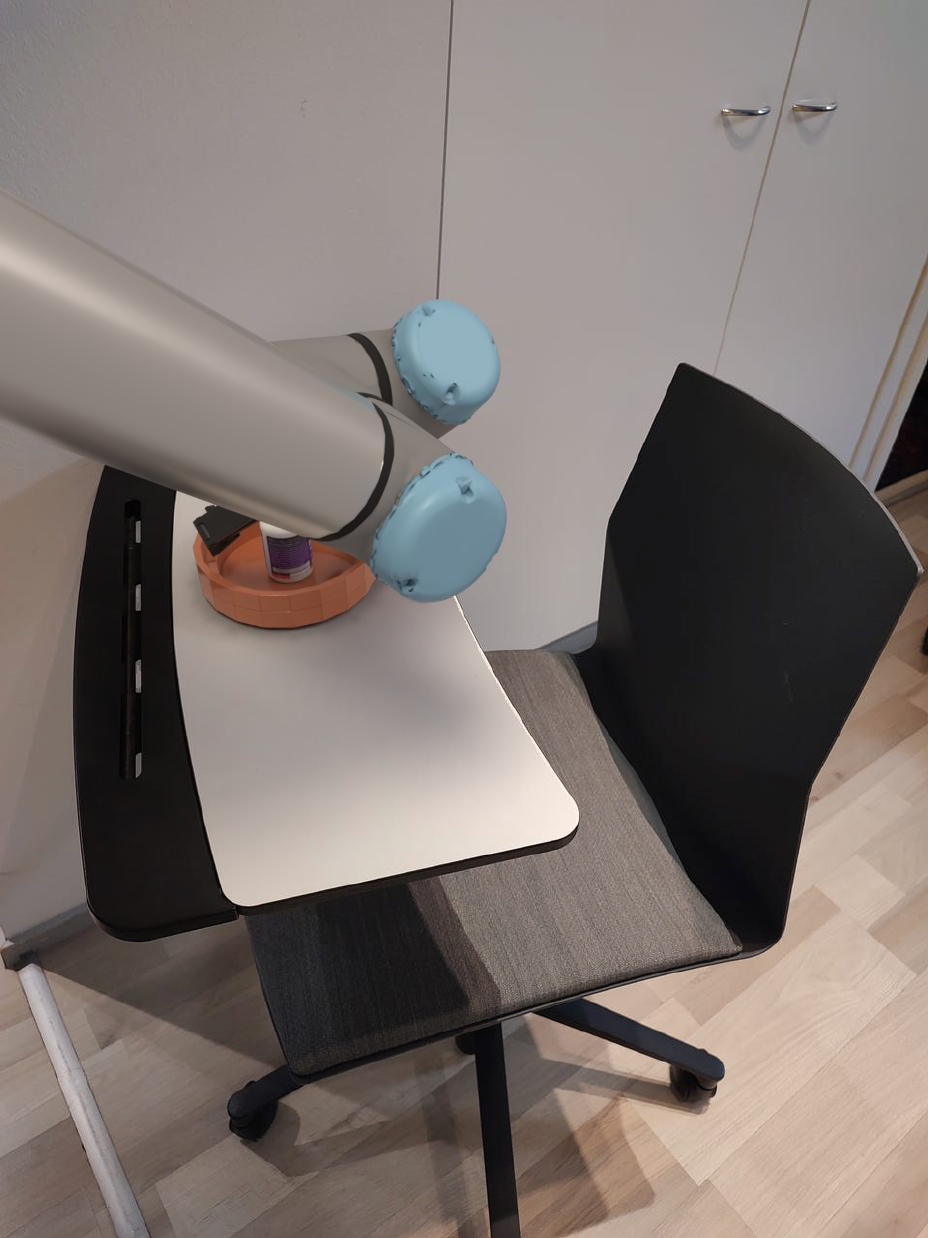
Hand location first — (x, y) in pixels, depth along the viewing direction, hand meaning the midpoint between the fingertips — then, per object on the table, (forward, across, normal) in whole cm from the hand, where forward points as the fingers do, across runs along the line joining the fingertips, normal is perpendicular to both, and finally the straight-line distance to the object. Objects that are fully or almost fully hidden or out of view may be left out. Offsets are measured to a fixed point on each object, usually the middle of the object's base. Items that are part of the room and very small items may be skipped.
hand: (269, 514), depth 86 cm
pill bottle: (+2, 0, -6) cm, 6 cm away
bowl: (+3, 0, -6) cm, 7 cm away
